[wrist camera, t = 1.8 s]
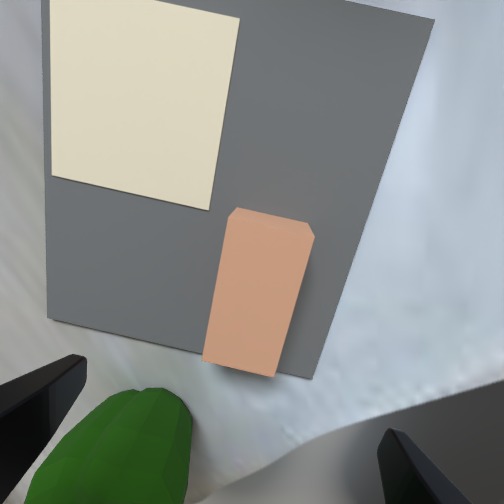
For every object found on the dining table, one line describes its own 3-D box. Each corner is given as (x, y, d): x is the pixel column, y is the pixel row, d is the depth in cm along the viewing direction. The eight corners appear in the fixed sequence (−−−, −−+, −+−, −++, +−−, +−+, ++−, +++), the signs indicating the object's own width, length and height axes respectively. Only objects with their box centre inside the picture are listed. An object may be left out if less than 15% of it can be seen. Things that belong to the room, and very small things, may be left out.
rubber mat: (311, 375, 19) (312, 380, 19) (51, 314, 19) (46, 318, 19) (430, 24, 13) (436, 18, 12) (46, -58, 13) (37, -67, 13)
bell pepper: (231, 423, 21) (195, 638, 12) (155, 468, 23) (71, 681, 14) (151, 344, 20) (33, 518, 10) (77, 400, 22) (-78, 587, 12)
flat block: (274, 343, 18) (273, 377, 15) (213, 329, 18) (201, 360, 15) (307, 223, 16) (314, 236, 13) (236, 207, 16) (228, 217, 13)
